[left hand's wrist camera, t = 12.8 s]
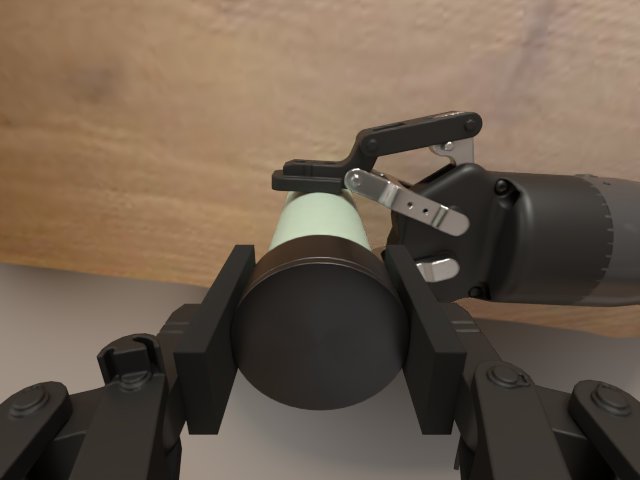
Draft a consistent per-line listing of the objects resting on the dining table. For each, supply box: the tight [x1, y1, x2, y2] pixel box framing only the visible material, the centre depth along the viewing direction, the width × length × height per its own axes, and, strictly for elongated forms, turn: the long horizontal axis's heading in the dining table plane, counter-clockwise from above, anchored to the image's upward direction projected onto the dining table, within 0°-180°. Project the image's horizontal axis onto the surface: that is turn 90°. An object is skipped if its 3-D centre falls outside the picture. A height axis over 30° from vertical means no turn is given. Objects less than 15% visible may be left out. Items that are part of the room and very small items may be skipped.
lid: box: [230, 235, 410, 410], centre depth 11 cm, size 6×6×2 cm
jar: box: [268, 189, 372, 252], centre depth 18 cm, size 5×5×16 cm
